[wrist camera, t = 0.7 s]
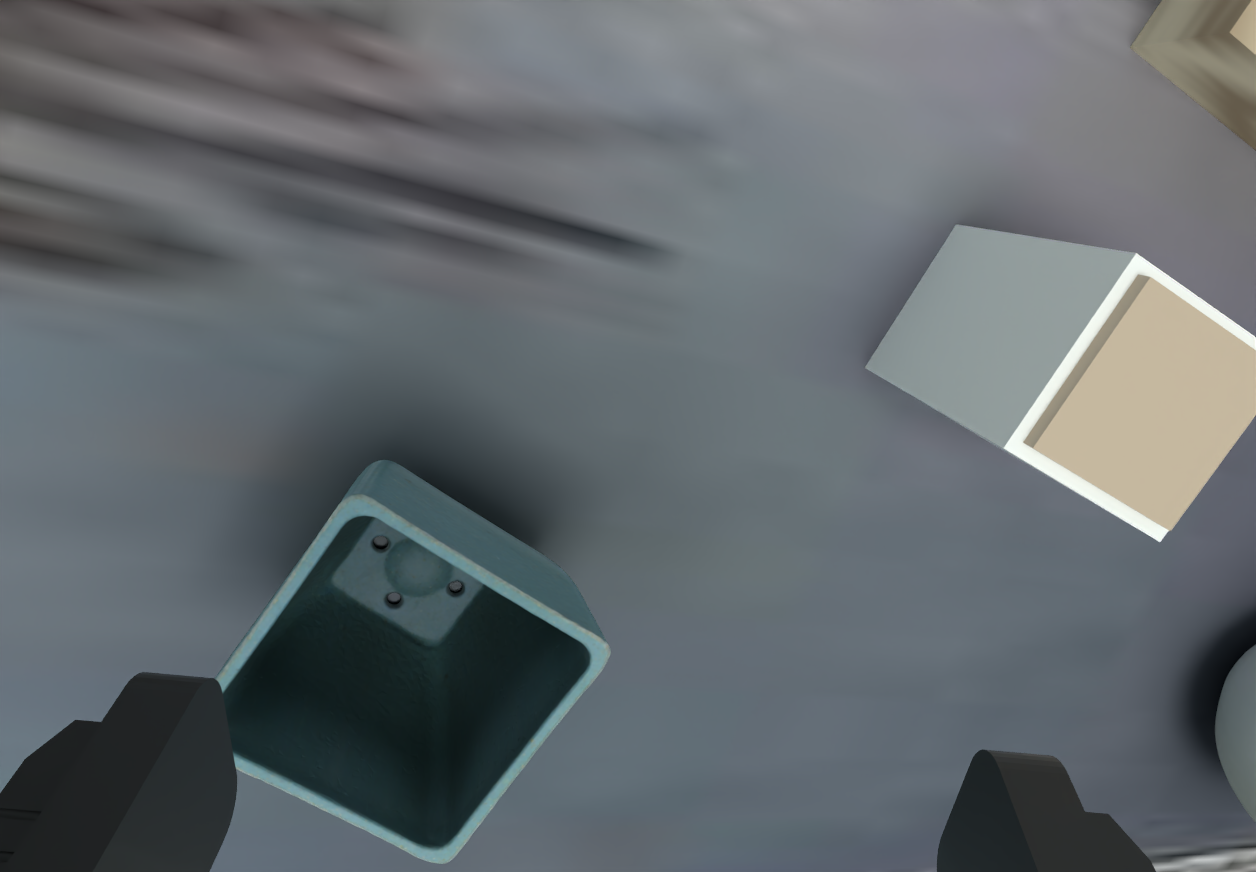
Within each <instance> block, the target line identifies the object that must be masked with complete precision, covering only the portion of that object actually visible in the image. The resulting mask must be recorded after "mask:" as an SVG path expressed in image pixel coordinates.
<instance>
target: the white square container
mask: <svg viewBox="0 0 1256 872" xmlns="http://www.w3.org/2000/svg"><path fill="white" fill-rule="evenodd" d="M865 368H866V369H867V370H869V371H871V372H872V373H874V374H876V375H877V376H879V377H881V378H882V379H884V380H886V381H887V382H889V383H891V384H892V385H894V386H896V387H897V388H899V389H901V390H902V391H904V392H906V393H908V394H909V395H911V396H913V397H914V398H916V399H918V400H919V401H921V402H923V403H924V404H926V405H928V406H929V407H931V408H933V409H934V410H936V411H938V412H939V413H941V414H943V415H944V416H946V417H948V418H949V419H951V420H953V421H954V422H956V423H958V424H959V425H961V426H963V427H964V428H966V429H968V430H969V431H971V432H973V433H975V434H976V435H978V436H980V437H981V438H983V439H985V440H986V441H988V442H990V443H991V444H993V445H995V446H996V447H998V448H1000V449H1002V450H1003V451H1005V452H1007V453H1008V454H1010V455H1012V456H1014V457H1015V458H1017V459H1019V460H1020V461H1022V462H1024V463H1026V464H1027V465H1029V466H1031V467H1032V468H1034V469H1036V470H1038V471H1039V472H1041V473H1043V474H1044V475H1046V476H1048V477H1050V478H1051V479H1053V480H1055V481H1056V482H1058V483H1060V484H1061V485H1063V486H1065V487H1067V488H1068V489H1070V490H1072V491H1073V492H1075V493H1077V494H1079V495H1080V496H1082V497H1084V498H1085V499H1087V500H1089V501H1091V502H1092V503H1094V504H1096V505H1097V506H1099V507H1101V508H1103V509H1104V510H1106V511H1108V512H1109V513H1111V514H1113V515H1115V516H1116V517H1118V518H1120V519H1121V520H1123V521H1125V522H1126V523H1128V524H1130V525H1132V526H1133V527H1135V528H1137V529H1138V530H1140V531H1142V532H1144V533H1145V534H1147V535H1149V536H1150V537H1152V538H1154V539H1156V540H1157V541H1159V542H1160V541H1161V540H1162V539H1163V537H1164V536H1165V535H1166V533H1167V532H1168V531H1171V530H1172V529H1173V527H1174V526H1175V525H1176V523H1177V522H1178V520H1179V519H1180V518H1181V516H1182V515H1183V514H1184V512H1185V511H1186V509H1187V508H1188V507H1189V505H1190V504H1191V503H1192V501H1193V500H1194V499H1195V497H1196V496H1197V494H1198V493H1199V492H1200V490H1201V489H1202V488H1203V486H1204V485H1205V484H1206V482H1207V481H1208V479H1209V478H1210V477H1211V475H1212V474H1213V473H1214V471H1215V470H1216V469H1217V467H1218V466H1219V464H1220V463H1221V462H1222V460H1223V459H1224V458H1225V456H1226V455H1227V454H1228V452H1229V451H1230V449H1231V448H1232V447H1233V445H1234V444H1235V443H1236V441H1237V440H1238V439H1239V437H1240V436H1241V434H1242V433H1243V432H1244V430H1245V429H1246V428H1247V426H1248V425H1249V423H1250V422H1251V421H1252V419H1253V418H1254V417H1255V415H1256V337H1255V336H1253V335H1252V334H1250V333H1249V332H1248V331H1246V330H1245V329H1243V328H1242V327H1240V326H1239V325H1238V324H1236V323H1235V322H1233V321H1232V320H1230V319H1229V318H1228V317H1226V316H1225V315H1223V314H1222V313H1221V312H1219V311H1218V310H1216V309H1215V308H1213V307H1212V306H1211V305H1209V304H1208V303H1206V302H1205V301H1203V300H1202V299H1201V298H1199V297H1198V296H1196V295H1195V294H1194V293H1192V292H1191V291H1189V290H1188V289H1186V288H1185V287H1184V286H1182V285H1181V284H1179V283H1178V282H1176V281H1175V280H1174V279H1172V278H1171V277H1169V276H1168V275H1167V274H1165V273H1164V272H1162V271H1161V270H1159V269H1158V268H1157V267H1155V266H1154V265H1152V264H1151V263H1149V262H1148V261H1147V260H1145V259H1144V258H1142V257H1141V256H1140V255H1138V254H1137V253H1132V252H1126V251H1119V250H1113V249H1107V248H1101V247H1094V246H1088V245H1082V244H1076V243H1070V242H1063V241H1057V240H1051V239H1045V238H1038V237H1032V236H1026V235H1020V234H1014V233H1007V232H1001V231H995V230H989V229H982V228H976V227H970V226H964V225H958V224H956V225H955V227H954V229H953V230H952V232H951V233H950V235H949V236H948V238H947V240H946V241H945V243H944V244H943V246H942V247H941V249H940V250H939V252H938V254H937V255H936V257H935V258H934V260H933V261H932V263H931V265H930V266H929V268H928V269H927V271H926V272H925V274H924V276H923V277H922V279H921V280H920V282H919V283H918V285H917V286H916V288H915V290H914V291H913V293H912V294H911V296H910V297H909V299H908V301H907V302H906V304H905V305H904V307H903V308H902V310H901V312H900V313H899V315H898V316H897V318H896V319H895V321H894V322H893V324H892V326H891V327H890V329H889V330H888V332H887V333H886V335H885V337H884V338H883V340H882V341H881V343H880V344H879V346H878V348H877V349H876V351H875V352H874V354H873V355H872V357H871V359H870V360H869V362H868V363H867V365H866V366H865Z"/></svg>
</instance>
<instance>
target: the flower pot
mask: <svg viewBox="0 0 1256 872" xmlns="http://www.w3.org/2000/svg"><path fill="white" fill-rule="evenodd" d="M377 536H384V537H386V538H387V540H388V545H387V547H386V548H384V549H378V548H376V547H375V546H374V545H373V540H374V538H376V537H377ZM453 581H458V582H460V583H461V584H462V590H461V591H460V592H459V593H452V592H450V590H449V584H450V583H452V582H453ZM394 592H395V593H398V594H400V596H401V601H400V603H398V604H396V605H392V604H390V603H389V602H388V601H387V596H388V595H389V594H390V593H394ZM610 654H611V650H610V647H609V645H608V643H607V642H606V640H605V638H604V636H603V634H602V632H601V630H600V628H599V627H598V625H597V623H596V621H595V619H594V617H593V615H592V614H591V612H590V610H589V608H588V606H587V604H586V603H585V601H584V599H583V597H582V595H581V593H580V592H579V590H578V588H577V587H576V585H575V584H574V582H573V581H572V580H571V578H570V577H569V576H568V575H567V574H566V573H565V572H564V571H563V570H562V569H561V568H560V567H559V566H558V565H557V564H555V563H554V562H553V561H551V560H550V559H549V558H547V557H546V556H544V555H543V554H541V553H540V552H538V551H536V550H535V549H533V548H532V547H530V546H528V545H527V544H525V543H523V542H522V541H520V540H518V539H517V538H515V537H514V536H512V535H510V534H509V533H507V532H505V531H504V530H502V529H501V528H499V527H497V526H496V525H494V524H493V523H491V522H489V521H488V520H486V519H484V518H483V517H481V516H480V515H478V514H476V513H475V512H473V511H472V510H470V509H468V508H467V507H465V506H464V505H462V504H460V503H459V502H457V501H456V500H454V499H452V498H451V497H449V496H448V495H446V494H445V493H443V492H441V491H440V490H438V489H437V488H435V487H433V486H432V485H430V484H429V483H427V482H426V481H424V480H422V479H421V478H419V477H418V476H416V475H415V474H413V473H412V472H410V471H409V470H407V469H405V468H404V467H402V466H401V465H399V464H397V463H395V462H393V461H389V460H379V461H376V462H373V463H372V464H370V465H369V466H368V467H367V468H365V470H364V471H363V472H362V473H361V474H360V475H359V476H358V478H357V479H356V480H355V482H354V483H353V485H352V486H351V487H350V489H349V490H348V492H347V493H346V495H345V496H344V498H343V499H342V501H341V502H340V503H339V505H338V506H337V508H336V509H335V511H334V512H333V513H332V515H331V516H330V518H329V519H328V520H327V522H326V523H325V525H324V526H323V528H322V529H321V530H320V532H319V533H318V535H317V536H316V537H315V539H314V540H313V542H312V543H311V544H310V546H309V547H308V549H307V550H306V551H305V553H304V554H303V555H302V557H301V558H300V560H299V561H298V562H297V564H296V565H295V567H294V568H293V569H292V571H291V572H290V574H289V575H288V576H287V578H286V579H285V581H284V582H283V583H282V585H281V586H280V588H279V589H278V590H277V592H276V593H275V595H274V596H273V597H272V599H271V600H270V602H269V603H268V604H267V606H266V607H265V609H264V610H263V611H262V613H261V614H260V616H259V617H258V618H257V620H256V621H255V623H254V624H253V625H252V627H251V628H250V629H249V631H248V632H247V634H246V635H245V636H244V638H243V639H242V640H241V642H240V643H239V644H238V646H237V647H236V649H235V650H234V651H233V653H232V654H231V656H230V657H229V659H228V660H227V661H226V663H225V664H224V666H223V667H222V669H221V670H220V672H219V673H218V674H217V676H216V677H215V679H216V680H217V681H218V682H219V684H220V686H221V689H222V693H223V699H224V704H225V710H226V716H227V721H228V727H229V733H230V739H231V744H232V750H233V756H234V761H235V767H236V769H237V770H239V771H241V772H243V773H245V774H247V775H250V776H252V777H254V778H256V779H260V780H263V781H264V782H265V783H267V784H270V785H272V786H275V787H277V788H279V789H281V790H283V791H285V792H287V793H289V794H291V795H293V796H295V797H298V798H300V799H301V800H304V801H306V802H308V803H309V804H312V805H314V806H316V807H318V808H320V809H322V810H324V811H326V812H328V813H330V814H332V815H334V816H337V817H339V818H340V819H343V820H345V821H347V822H349V823H351V824H353V825H355V826H357V827H359V828H361V829H363V830H366V831H367V832H369V833H371V834H373V835H375V836H377V837H379V838H382V839H383V840H385V841H387V842H389V843H391V844H393V845H395V846H397V847H399V848H400V849H402V850H404V851H406V852H408V853H410V854H411V855H413V856H415V857H417V858H419V859H422V860H425V861H428V862H432V863H439V864H445V863H447V862H449V861H451V860H452V859H453V858H454V857H455V856H456V855H457V853H458V852H459V851H460V850H461V849H462V847H463V846H464V845H465V844H466V843H467V841H468V840H469V838H470V837H471V835H472V834H473V833H474V832H475V830H476V829H477V828H478V826H479V825H480V824H481V823H482V821H483V820H484V818H485V817H486V816H487V815H488V813H489V812H490V811H491V810H492V808H493V807H494V805H495V804H496V803H497V801H498V800H499V799H500V797H501V796H502V795H503V794H504V793H505V791H506V790H507V789H508V787H509V786H510V784H511V783H512V782H513V781H514V779H515V778H516V777H517V776H518V775H519V773H520V771H521V770H522V769H523V768H524V767H525V766H526V764H527V763H528V762H529V760H530V759H531V758H532V756H533V755H534V754H535V752H536V751H537V750H538V748H539V747H540V746H541V745H542V743H543V742H544V741H545V740H546V738H547V737H548V736H549V735H550V734H551V732H552V731H553V729H554V728H555V727H556V726H557V724H559V722H560V721H561V720H562V718H563V717H564V716H565V715H566V714H567V713H568V711H569V710H570V709H571V707H572V706H573V705H574V704H575V702H576V701H577V700H578V699H579V698H580V697H581V695H582V694H583V693H584V691H585V690H586V689H587V688H588V687H589V686H590V685H591V684H592V682H593V681H594V680H595V679H596V677H597V676H598V675H599V674H600V673H601V672H602V670H603V668H604V666H605V665H606V663H607V661H608V659H609V657H610Z"/></svg>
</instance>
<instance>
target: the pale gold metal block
mask: <svg viewBox="0 0 1256 872" xmlns="http://www.w3.org/2000/svg"><path fill="white" fill-rule="evenodd" d="M1130 48H1131V49H1132V50H1133V51H1134V52H1136V53H1137V54H1138V55H1139V56H1141V57H1142V58H1143V59H1144V60H1145V61H1147V62H1148V63H1149V64H1150V65H1152V66H1153V67H1154V68H1155V69H1156V70H1158V71H1159V72H1160V73H1161V74H1163V75H1164V76H1165V77H1166V78H1167V79H1169V80H1170V81H1171V82H1172V83H1174V84H1175V85H1176V86H1177V87H1178V88H1180V89H1181V90H1182V91H1183V92H1185V93H1186V94H1187V95H1188V96H1190V97H1191V98H1192V99H1193V100H1194V101H1196V102H1197V103H1198V104H1199V105H1201V106H1202V107H1203V108H1204V109H1205V110H1207V111H1208V112H1209V113H1210V114H1212V115H1213V116H1214V117H1215V118H1216V119H1218V120H1219V121H1220V122H1221V123H1223V124H1224V125H1225V126H1226V127H1227V128H1229V129H1230V130H1231V131H1232V132H1234V133H1235V134H1236V135H1237V136H1238V137H1240V138H1241V139H1242V140H1243V141H1245V142H1246V143H1247V144H1248V145H1250V146H1251V147H1252V148H1253V149H1254V150H1256V0H1162V1H1161V2H1160V4H1159V5H1158V7H1157V8H1156V10H1155V11H1154V13H1153V14H1152V16H1151V17H1150V19H1149V20H1148V22H1147V23H1146V25H1145V26H1144V28H1143V29H1142V31H1141V32H1140V34H1139V35H1138V37H1137V38H1136V40H1135V41H1134V42H1133V44H1132V45H1131V47H1130Z"/></svg>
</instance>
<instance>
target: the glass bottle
mask: <svg viewBox="0 0 1256 872" xmlns="http://www.w3.org/2000/svg"><path fill="white" fill-rule="evenodd" d="M1215 737H1216V745H1217V750H1218V754H1219V758H1220V761H1221V764H1222V767H1223V770H1224V772H1225V775H1226V777H1227V779H1228V781H1229V783H1230V785H1231V787H1232V789H1233V791H1234V792H1235V794H1236V796H1237V798H1238V799H1239V801H1240V802H1241V804H1242V805H1243V807H1244V808H1245V810H1246V811H1247V812H1248V814H1249V815H1250V816H1251V818H1252V819H1253V820H1254V821H1255V823H1256V645H1254V646H1253V647H1252V648H1250V649H1249V650H1248V651H1246V652H1245V653H1244V654H1243V655H1242V657H1241V658H1240V659H1239V660H1238V661H1237V662H1236V663H1235V665H1234V666H1233V668H1232V669H1231V671H1230V672H1229V674H1228V676H1227V678H1226V680H1225V683H1224V686H1223V689H1222V692H1221V696H1220V699H1219V703H1218V708H1217V713H1216V721H1215Z"/></svg>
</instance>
